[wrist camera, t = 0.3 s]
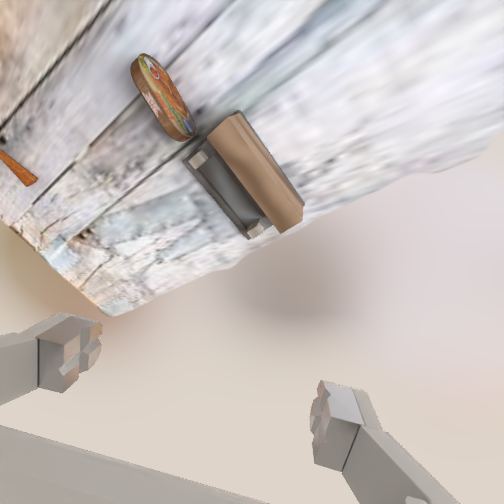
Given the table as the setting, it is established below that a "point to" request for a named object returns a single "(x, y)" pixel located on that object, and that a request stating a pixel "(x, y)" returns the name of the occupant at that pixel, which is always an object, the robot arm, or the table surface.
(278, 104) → the table surface
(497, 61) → the table surface
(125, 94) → the table surface
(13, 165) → the kendama
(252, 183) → the cabinet
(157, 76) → the tin
